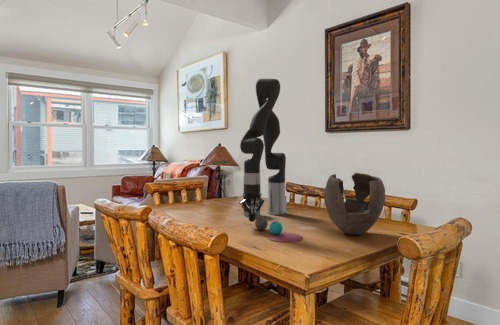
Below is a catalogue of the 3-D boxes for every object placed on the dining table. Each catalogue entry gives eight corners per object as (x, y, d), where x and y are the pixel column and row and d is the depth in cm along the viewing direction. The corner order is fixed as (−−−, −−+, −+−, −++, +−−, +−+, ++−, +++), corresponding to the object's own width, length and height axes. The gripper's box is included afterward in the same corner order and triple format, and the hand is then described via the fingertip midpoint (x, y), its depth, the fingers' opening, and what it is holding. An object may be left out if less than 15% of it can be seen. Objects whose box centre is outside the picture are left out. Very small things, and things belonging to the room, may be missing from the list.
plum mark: (285, 231, 145) (285, 231, 145) (310, 238, 134) (310, 237, 134) (260, 236, 136) (260, 236, 136) (284, 244, 125) (284, 243, 125)
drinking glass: (240, 216, 177) (239, 193, 177) (245, 213, 187) (245, 191, 186) (258, 217, 174) (258, 194, 174) (263, 214, 184) (263, 192, 183)
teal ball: (276, 219, 143) (285, 222, 138) (275, 232, 143) (284, 235, 139) (266, 220, 139) (275, 224, 135) (266, 233, 140) (275, 237, 135)
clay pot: (339, 225, 157) (339, 171, 156) (393, 233, 141) (394, 174, 141) (314, 235, 138) (314, 174, 137) (372, 246, 123) (373, 177, 122)
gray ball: (268, 215, 148) (271, 228, 146) (260, 219, 152) (262, 231, 150) (259, 215, 145) (262, 228, 143) (251, 219, 148) (253, 231, 146)
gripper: (245, 184, 144) (245, 225, 145) (268, 182, 152) (268, 220, 153) (235, 183, 150) (235, 221, 151) (258, 181, 158) (258, 217, 159)
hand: (252, 221), depth 152 cm, fingers closed
